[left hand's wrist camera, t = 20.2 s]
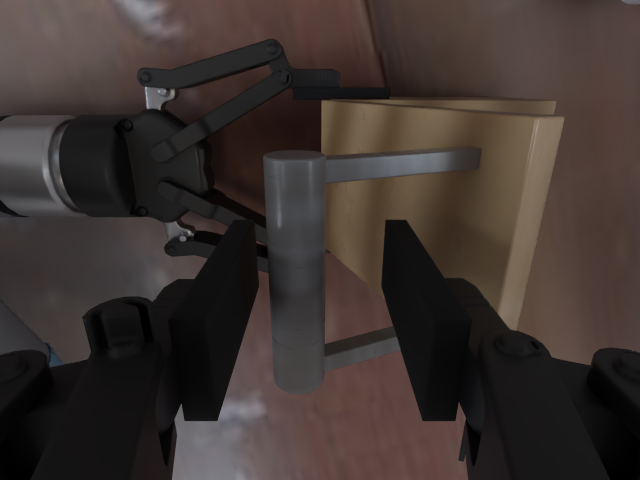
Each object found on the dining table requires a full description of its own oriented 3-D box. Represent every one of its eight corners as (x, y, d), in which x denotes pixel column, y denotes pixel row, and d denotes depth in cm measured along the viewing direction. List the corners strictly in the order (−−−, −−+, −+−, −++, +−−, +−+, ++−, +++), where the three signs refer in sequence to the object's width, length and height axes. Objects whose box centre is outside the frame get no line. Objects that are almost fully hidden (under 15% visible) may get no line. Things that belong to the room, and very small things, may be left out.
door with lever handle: (566, 116, 11) (289, 126, 8) (507, 378, 15) (297, 456, 12) (338, 99, 25) (197, 101, 22) (335, 241, 28) (214, 261, 25)
